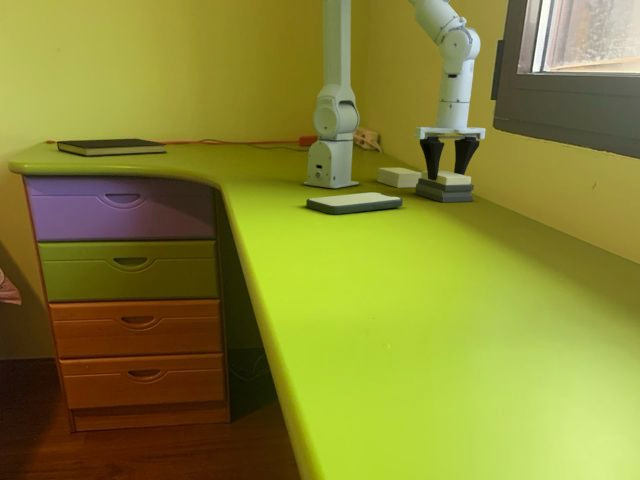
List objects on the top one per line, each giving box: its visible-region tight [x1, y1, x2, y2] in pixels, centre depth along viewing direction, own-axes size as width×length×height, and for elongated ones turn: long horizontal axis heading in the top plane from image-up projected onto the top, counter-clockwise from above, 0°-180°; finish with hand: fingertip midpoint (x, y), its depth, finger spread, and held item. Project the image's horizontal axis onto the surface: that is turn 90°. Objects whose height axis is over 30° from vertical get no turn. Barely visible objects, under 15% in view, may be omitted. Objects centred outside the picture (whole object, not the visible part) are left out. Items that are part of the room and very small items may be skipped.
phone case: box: [305, 192, 404, 215], centre depth 121 cm, size 9×2×16 cm
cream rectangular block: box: [376, 167, 422, 189], centre depth 149 cm, size 9×6×3 cm, turn 24°
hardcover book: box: [56, 137, 167, 158], centre depth 183 cm, size 16×23×2 cm
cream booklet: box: [421, 170, 472, 185], centre depth 134 cm, size 9×6×1 cm, turn 24°
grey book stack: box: [415, 178, 475, 203], centre depth 135 cm, size 10×7×3 cm
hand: (445, 179), depth 134 cm, fingers closed on cream booklet, 5 cm apart
